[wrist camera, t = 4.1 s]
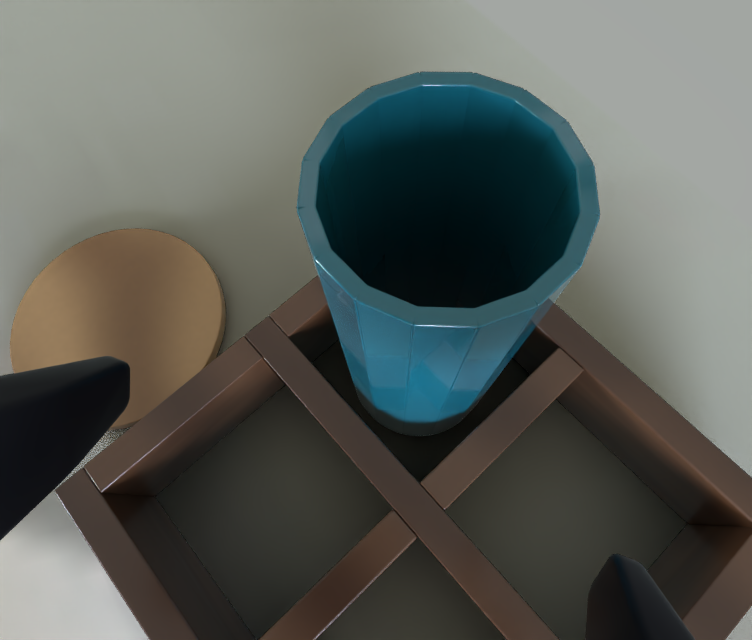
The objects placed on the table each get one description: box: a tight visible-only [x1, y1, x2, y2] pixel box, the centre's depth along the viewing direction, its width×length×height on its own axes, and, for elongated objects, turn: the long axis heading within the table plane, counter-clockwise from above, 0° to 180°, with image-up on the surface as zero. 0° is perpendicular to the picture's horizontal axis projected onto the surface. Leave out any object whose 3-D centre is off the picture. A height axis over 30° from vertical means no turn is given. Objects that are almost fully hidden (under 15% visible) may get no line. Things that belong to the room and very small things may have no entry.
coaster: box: [10, 228, 226, 430], centre depth 22 cm, size 9×9×1 cm
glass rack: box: [55, 276, 752, 640], centre depth 18 cm, size 16×16×4 cm
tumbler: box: [296, 72, 600, 436], centre depth 15 cm, size 5×5×13 cm
